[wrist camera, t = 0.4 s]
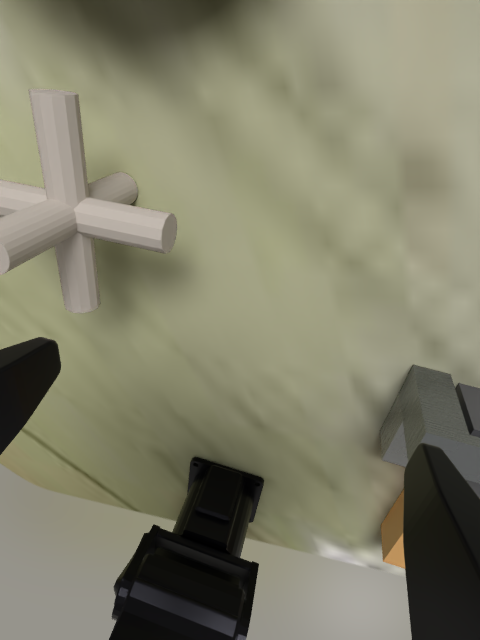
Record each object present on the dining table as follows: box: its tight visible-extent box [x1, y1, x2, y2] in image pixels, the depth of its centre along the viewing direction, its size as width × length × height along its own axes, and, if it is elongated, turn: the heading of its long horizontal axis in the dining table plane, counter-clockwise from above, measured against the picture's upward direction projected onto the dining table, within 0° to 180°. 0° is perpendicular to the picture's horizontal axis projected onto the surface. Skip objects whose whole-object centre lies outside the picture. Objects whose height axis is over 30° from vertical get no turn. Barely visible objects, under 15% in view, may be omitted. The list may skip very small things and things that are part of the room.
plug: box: [381, 383, 480, 568], centre depth 26 cm, size 16×4×4 cm, turn 172°
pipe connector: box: [0, 89, 177, 313], centre depth 18 cm, size 10×10×10 cm
